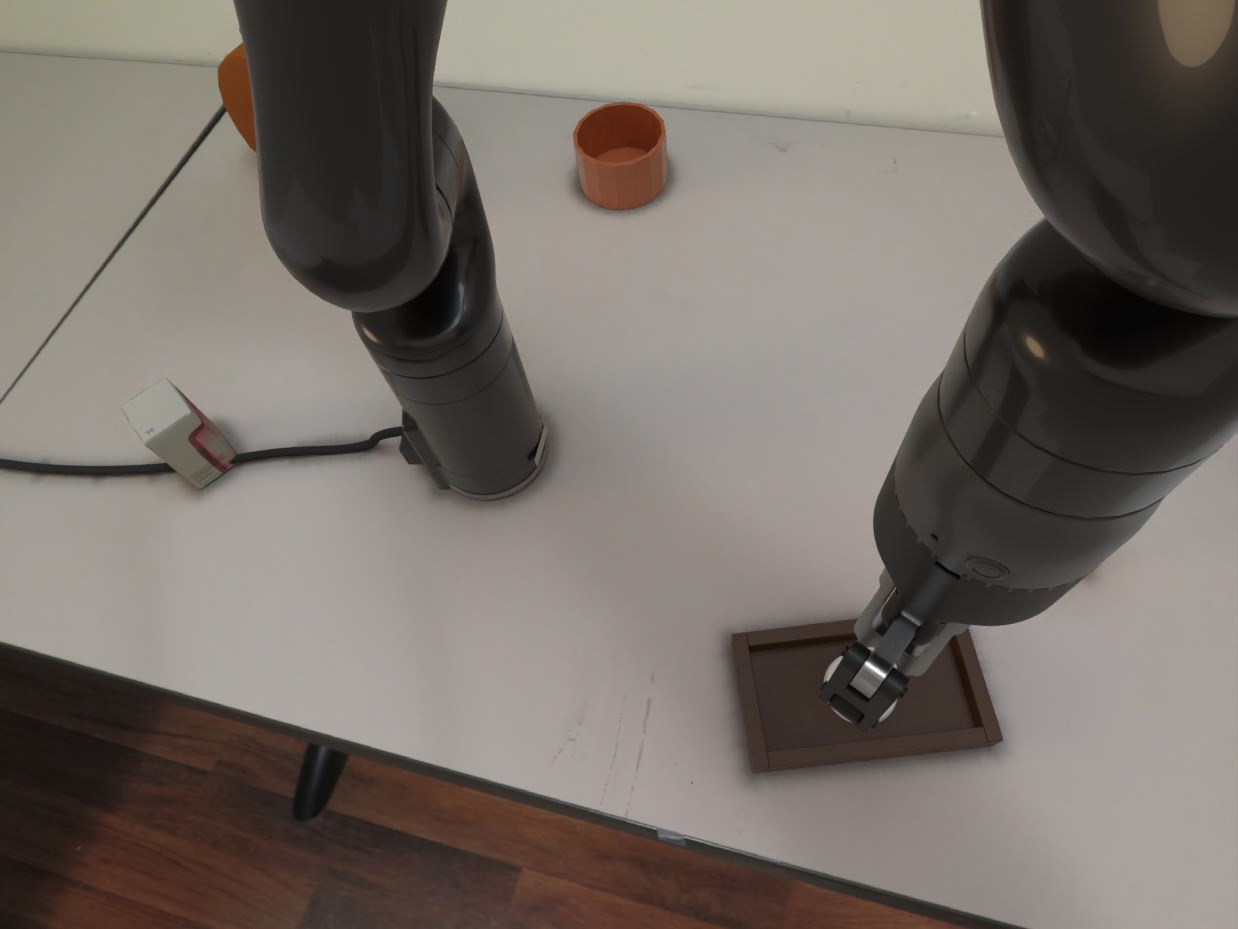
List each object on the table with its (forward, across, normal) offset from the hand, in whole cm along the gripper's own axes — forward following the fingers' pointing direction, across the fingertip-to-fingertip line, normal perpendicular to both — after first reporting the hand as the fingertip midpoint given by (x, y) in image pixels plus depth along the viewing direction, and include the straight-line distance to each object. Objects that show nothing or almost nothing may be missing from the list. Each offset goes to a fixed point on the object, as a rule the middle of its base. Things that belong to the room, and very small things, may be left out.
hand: (902, 626), depth 42 cm
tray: (+16, -1, 0) cm, 16 cm away
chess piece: (+16, -1, 0) cm, 16 cm away
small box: (+17, +17, -53) cm, 58 cm away
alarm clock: (+17, -15, -70) cm, 73 cm away
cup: (+16, -30, -45) cm, 57 cm away
